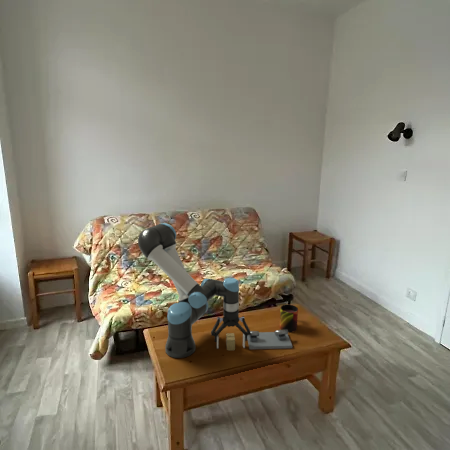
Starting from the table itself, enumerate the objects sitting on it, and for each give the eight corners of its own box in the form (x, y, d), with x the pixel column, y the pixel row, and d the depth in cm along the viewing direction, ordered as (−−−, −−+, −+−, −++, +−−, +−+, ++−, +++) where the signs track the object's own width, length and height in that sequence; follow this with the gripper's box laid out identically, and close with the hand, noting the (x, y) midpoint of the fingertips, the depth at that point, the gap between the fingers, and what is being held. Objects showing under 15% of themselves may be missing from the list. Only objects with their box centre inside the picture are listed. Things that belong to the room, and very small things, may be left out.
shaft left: (248, 341, 178) (248, 333, 177) (247, 337, 183) (247, 329, 182) (259, 341, 179) (259, 333, 178) (257, 336, 183) (258, 329, 182)
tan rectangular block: (234, 350, 174) (235, 339, 172) (226, 350, 174) (226, 339, 172) (234, 343, 180) (234, 333, 178) (226, 343, 179) (226, 333, 178)
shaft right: (276, 341, 179) (277, 333, 178) (273, 336, 183) (274, 328, 182) (288, 339, 181) (289, 331, 180) (285, 334, 185) (285, 327, 184)
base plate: (249, 349, 175) (249, 346, 174) (246, 335, 187) (246, 332, 187) (292, 348, 176) (292, 345, 176) (286, 334, 188) (286, 331, 188)
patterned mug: (288, 318, 205) (289, 300, 202) (299, 331, 192) (301, 311, 189) (273, 321, 202) (274, 302, 199) (284, 333, 189) (285, 313, 186)
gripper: (206, 313, 167) (206, 351, 172) (256, 311, 168) (255, 350, 174) (206, 305, 174) (206, 343, 179) (254, 304, 176) (253, 341, 181)
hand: (230, 346), depth 177 cm, fingers open, 13 cm apart
